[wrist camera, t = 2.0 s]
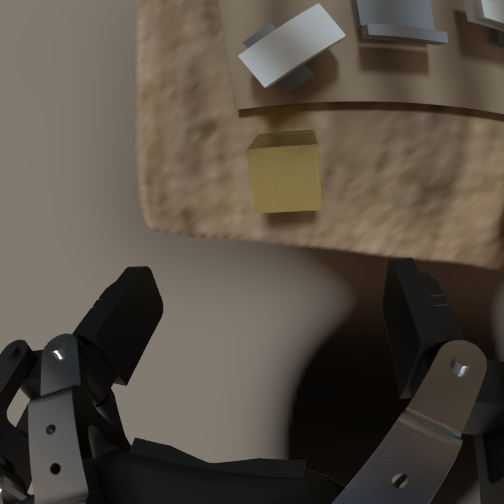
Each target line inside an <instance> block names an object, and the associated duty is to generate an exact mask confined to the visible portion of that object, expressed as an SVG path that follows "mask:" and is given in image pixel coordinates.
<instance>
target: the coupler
mask: <svg viewBox="0 0 504 504" xmlns="http://www.w3.org/2000/svg"><path fill="white" fill-rule="evenodd" d="M246 151H247V158H248V165H249V172H250V178H251V185H252V192H253V199H254V206H255V212H256V214H258V213H275V212H293V211H314V210H322V204H321V186H320V170H319V156H318V144H317V140H316V136H315V131H314V130H301V131H286V132H274V133H264V134H259V135H258V136H257V137H256V138H255V139H254V141H253V142H252V143H251V144H250V146H249V147H248V148H247V149H246Z"/></svg>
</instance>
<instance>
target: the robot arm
mask: <svg viewBox="0 0 504 504" xmlns="http://www.w3.org/2000/svg"><path fill="white" fill-rule="evenodd" d="M162 314H163V302H162V298H161V296H160V293H159V290H158V288H157V285H156V282H155V279H154V277H153V274H152V271H151V270H150V268H149V267H147V266H138V267H127V268H126V269H125V270H124V272H123V273H122V274H121V276H120V277H119V278H118V280H117V281H116V282H114V283H113V284H111V285H110V286H109V287H108V288H106V290H105V291H104V292H103V293H102V295H101V296H100V297H99V300H97V301H96V302H95V304H94V305H93V308H91V309H90V310H89V312H88V313H87V314H86V316H85V317H84V318H83V320H82V321H81V322H80V324H79V325H78V327H77V328H76V329H75V331H74V332H73V334H61V335H59V336H56V337H55V338H53V339H52V340H51V341H49V342H48V343H47V345H46V346H45V348H44V349H43V350H37V351H32V350H31V349H30V347H29V346H28V344H27V343H26V341H24V340H16V341H14V342H12V343H10V344H9V345H8V346H7V347H6V348H5V349H4V350H3V351H2V353H1V354H0V504H429V503H430V502H431V500H432V498H433V497H434V495H435V494H436V492H437V490H438V489H439V487H440V485H441V483H442V482H443V480H444V478H445V477H446V475H447V473H448V471H449V469H450V468H451V466H452V464H453V462H454V460H455V458H456V456H457V454H458V452H459V450H460V447H461V444H462V441H463V439H462V438H461V434H462V433H463V434H473V435H474V441H475V447H476V455H477V463H478V472H479V484H480V501H481V504H504V362H500V361H492V360H487V359H486V358H485V356H484V354H483V352H482V351H481V350H480V349H479V348H478V347H477V346H476V345H474V344H472V343H470V342H467V341H465V340H464V337H463V335H462V332H461V330H460V328H459V325H458V323H457V321H456V319H455V316H454V314H453V312H452V310H451V308H450V306H448V301H447V299H446V297H445V296H444V293H443V291H442V290H441V287H440V285H439V283H438V282H437V281H436V280H435V279H434V278H433V277H431V276H430V275H429V274H428V273H419V271H418V269H417V267H416V264H415V262H414V260H413V259H412V258H396V259H389V260H388V264H387V272H386V280H385V287H384V294H383V315H384V320H385V324H386V329H387V333H388V338H389V342H390V347H391V351H392V356H393V361H394V366H395V371H396V377H397V382H398V389H399V394H400V399H404V398H411V397H412V401H411V402H410V404H409V406H408V407H407V409H406V410H405V411H404V412H403V413H402V414H401V415H400V417H399V418H398V420H397V421H396V423H395V424H394V426H393V427H392V429H391V430H390V431H389V433H388V434H387V436H386V437H385V438H384V440H383V441H382V443H381V444H380V445H379V447H378V448H377V449H376V451H375V452H374V454H373V455H372V456H371V457H370V459H369V460H368V461H367V462H366V464H365V465H364V466H363V467H362V469H361V470H360V471H359V472H358V474H357V475H356V476H355V477H354V479H353V480H352V481H351V482H350V483H349V484H348V485H347V487H346V488H345V487H344V486H342V485H341V484H339V483H338V482H336V481H335V480H333V479H331V478H329V477H327V476H324V475H321V474H319V473H316V472H312V471H309V470H305V460H279V459H262V458H257V459H249V460H241V461H234V462H223V463H208V462H205V461H203V460H200V459H198V458H196V457H194V456H191V455H189V454H187V453H185V452H182V451H180V450H178V449H176V448H174V447H172V446H169V445H164V444H159V443H155V442H151V441H147V440H143V439H139V438H135V439H134V441H133V444H132V446H131V444H130V443H129V441H128V440H127V438H126V436H125V433H124V430H123V427H122V422H121V419H120V415H119V411H118V407H117V403H116V399H115V395H114V393H113V391H112V389H111V387H112V385H113V383H115V384H120V385H125V386H127V384H128V382H129V380H130V378H131V376H132V374H133V372H134V370H135V368H136V366H137V364H138V362H139V360H140V358H141V356H142V354H143V352H144V350H145V348H146V346H147V344H148V342H149V340H150V338H151V336H152V334H153V333H154V331H155V329H156V327H157V325H158V323H159V321H160V319H161V317H162ZM19 388H20V389H21V390H22V391H23V392H24V393H25V394H26V395H27V397H28V398H29V399H30V401H29V403H28V405H27V407H26V409H25V410H24V412H23V414H22V416H21V418H20V420H19V422H18V424H17V426H16V427H14V426H13V425H12V424H11V423H10V422H9V421H8V419H7V409H8V407H9V405H10V403H11V401H12V400H13V398H14V396H15V394H16V393H17V391H18V389H19ZM31 481H32V483H33V490H34V494H33V495H31V494H29V493H27V492H28V489H29V487H30V484H31Z"/></svg>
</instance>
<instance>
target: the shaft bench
mask: <svg viewBox="0 0 504 504" xmlns="http://www.w3.org/2000/svg"><path fill="white" fill-rule="evenodd" d="M218 1H219V8H220V14H221V20H222V26H223V32H224V39H225V45H226V51H227V57H228V64H229V70H230V76H231V83H232V89H233V95H234V102H235V108H236V110H240V109H247V108H256V107H264V106H274V105H285V104H298V103H315V102H342V101H380V102H406V103H422V104H434V105H444V106H454V107H462V108H469V109H476V110H483V111H489V112H495V113H500V114H504V0H218Z"/></svg>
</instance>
